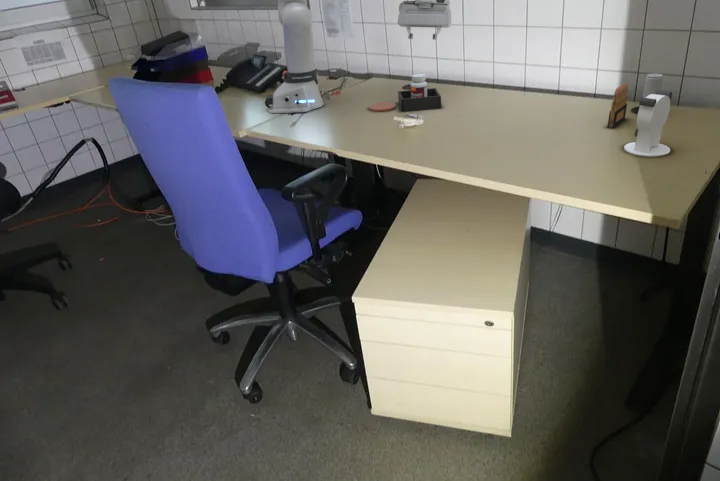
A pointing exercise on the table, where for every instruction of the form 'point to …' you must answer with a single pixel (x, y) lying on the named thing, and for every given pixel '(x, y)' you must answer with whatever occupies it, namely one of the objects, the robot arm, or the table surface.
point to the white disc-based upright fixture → (651, 125)
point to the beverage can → (652, 84)
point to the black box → (419, 100)
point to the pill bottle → (418, 86)
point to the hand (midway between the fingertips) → (422, 38)
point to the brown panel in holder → (618, 106)
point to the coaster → (382, 107)
